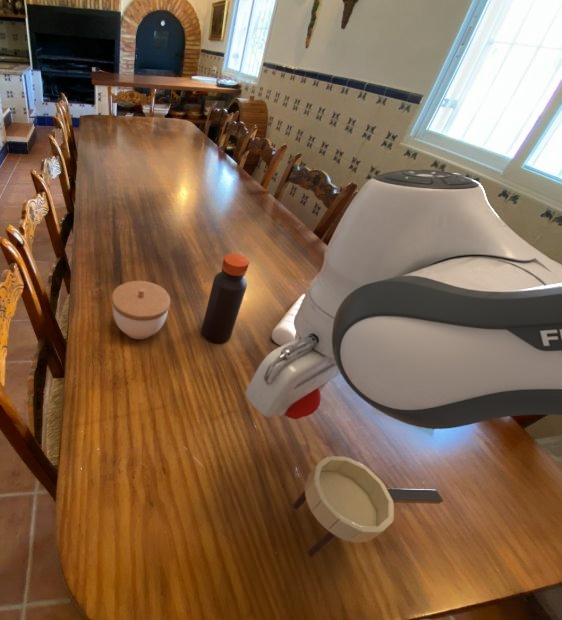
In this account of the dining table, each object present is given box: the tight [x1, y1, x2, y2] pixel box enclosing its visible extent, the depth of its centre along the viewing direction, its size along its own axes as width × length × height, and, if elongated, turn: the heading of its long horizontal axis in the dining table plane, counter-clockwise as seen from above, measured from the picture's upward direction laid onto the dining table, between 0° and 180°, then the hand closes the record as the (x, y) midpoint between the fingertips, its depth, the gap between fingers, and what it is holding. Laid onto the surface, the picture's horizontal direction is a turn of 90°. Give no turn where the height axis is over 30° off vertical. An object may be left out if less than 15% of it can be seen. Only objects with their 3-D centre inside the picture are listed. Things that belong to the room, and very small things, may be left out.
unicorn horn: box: [271, 293, 306, 347], centre depth 87 cm, size 5×24×5 cm, turn 143°
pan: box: [292, 455, 444, 558], centre depth 48 cm, size 16×9×12 cm, turn 91°
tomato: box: [283, 388, 322, 420], centre depth 47 cm, size 5×5×6 cm
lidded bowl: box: [111, 280, 171, 340], centre depth 79 cm, size 13×13×11 cm
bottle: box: [201, 253, 250, 344], centre depth 76 cm, size 7×7×20 cm
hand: (295, 399), depth 47 cm, fingers closed on tomato, 5 cm apart
